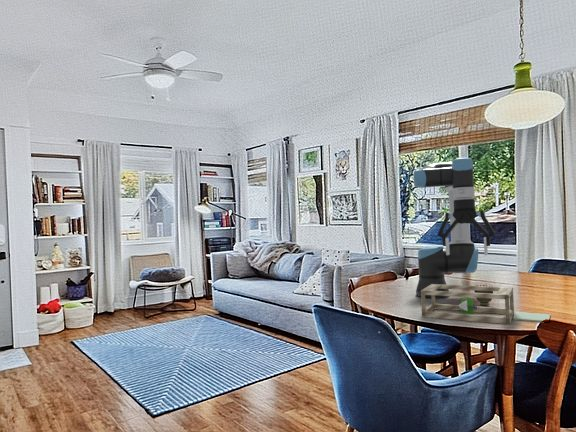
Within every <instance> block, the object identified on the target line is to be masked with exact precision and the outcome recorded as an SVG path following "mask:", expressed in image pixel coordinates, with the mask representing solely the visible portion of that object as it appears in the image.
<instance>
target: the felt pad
mask: <svg viewBox="0 0 576 432" xmlns="http://www.w3.org/2000/svg"><path fill="white" fill-rule="evenodd" d="M545 319H551V314H550V313H538V312H537V313H535V312H525V311H524V312H521V311H516V312H514V316H513V318H512V320H513V321H521V322H534V323H541V322H540V321H542V320H545Z"/></svg>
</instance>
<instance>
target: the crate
mask: <svg viewBox="0 0 576 432" xmlns="http://www.w3.org/2000/svg"><path fill="white" fill-rule="evenodd" d="M437 289H449V291H436V290H437ZM450 290H458V291H450ZM459 290H462V291H459ZM474 290H479V291H493V292H496V293H493V294H489V293H475V292H467V291H474ZM425 295H431V298H430V299H431V300H430V301H431V304H430V305H428V306H427V305H426V298H425ZM435 295H438V296H448V297H456V298H457V297H458V298H459V297H460V298H473V299H474V298H475V299H476V298H492V300H493V299H494V300H504V307H494V306H493V307H491V306H490V307H489V306H476V307H477V309H476V308H474V309H473V310H474V313H481V312H483V313H482V314H483V315H482V314H481V315H479V314H475V315H470V314H462V313H455V312H442V311H441V312H440V311H434V310H440V309H447V311H454V310H460V309H461V308H458V304H448V303H447V304H445V303H436V298H435ZM420 301H421V303H420V304H421V316H424V317H423V318H431V317H433V319H434V318H435V319H442V320H443V319H445V320H456V321H469V322H481V323H491V324H495V323H496V324H505V325H511V322H512V320H513V318H514V315H515V304H514V303H515V302H514V301H515V300H514V287H510V286H509V287H508V286H507V287H506V286H493V287H491V286H490V287H489V286H488V285H487V286H486V285H484V286H483V285H481V286H480V285H478V286H477V285H464V284H463V285H461V284H459V285H457V284H456V285H455V284H447V285H440V284H431V285H429V286H428V287H426V288H424V289H423V290H421V297H420ZM426 306H427V307H426ZM435 308H436V309H435ZM432 310H433V311H432ZM431 311H432V312H431ZM475 311H476V312H475ZM460 312H462V309H461V311H460ZM485 313H486V314H495V313H496V314H498V315H505V316H496V315H494V316H493V315H484V314H485Z"/></svg>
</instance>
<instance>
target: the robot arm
mask: <svg viewBox="0 0 576 432" xmlns="http://www.w3.org/2000/svg"><path fill="white" fill-rule="evenodd" d="M412 174H413V185H414V188H418V189H419V188H421V189H425V188H436V187H437V188H438V187H444V190H445V192H446V193H448V206H449V208H448V209H449V212H445V214H444V220H443V222H442V223H441V226H440V228H439V231H438V233H437V237H439V238H442V245H433V246H426V247H422V248H420V249H418V251H417V261H418V264H417V265H418V281H417V284H416V289H415V296H416V295H418V296H417V297H419V296H421V290H423V289H424V288H426V287H428V286H429V285H431V284H440V285H448V284H447V281H446V279H445V274H474V273H475V272H476V271H477V269H478V264H479V262H478V261H479V248H478V247H475V246H476V245H475V243H474V242H473V241H472V240H471V226H470V224H473V226H475V227H476V229H478V230H479V232H480V233H482V234H483V235H484V237H483V250H484V251H483V252H484V253H483V254H484V256H489V254H488V247H490V246H491V237H493V236H495V235H496V232H495V231H494V228H493V227H492V226H491V224H490V222H489V220H488V219H487V217H486V213H485V211H484V210H481V211H476V201H475V199H474V198H475V197H476V196H475V195H476V194H475V185H474V183H475V182H474V181H475V180H474V161H473V159H472V158H471V157H459V158H458V157H457V158H454V159H453V160H452V161H447V162H435V163H431V164H428V165H425V166H423V167H421V168H419V169H414V170H413V173H412ZM477 216H478V217H479V218H480V219H481V221H483V223H484V225H485V227H486V228H484V227H483V226H482V225H481V224H480V223H479V222H478V221H477V220H476V219H475V218H476V217H477ZM448 223H450V225H449V227H448V229H446V227H447V226H448ZM486 229H487V230H488V231H487V230H486ZM445 230H446V231H445ZM449 235H450V237H448V236H449ZM444 247H445V248H444ZM436 291H450V289H437V290H436ZM425 297H429V298H428V299H431V295H425ZM441 297H443V298H447V297H449V296H438V295H435V299H442V298H441Z"/></svg>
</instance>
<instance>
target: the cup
mask: <svg viewBox="0 0 576 432" xmlns="http://www.w3.org/2000/svg"><path fill="white" fill-rule="evenodd" d="M476 286H487V287H494V286H493V285H492V286H491V285H487V284H486V285H481V284H480V285H476ZM473 291H474V293H489V294H494V291H479V290H473ZM475 299H476V301H478V302H479V305H480V307H489V306H490V302H491V301H492V300H493V299H492V298H475Z"/></svg>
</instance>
